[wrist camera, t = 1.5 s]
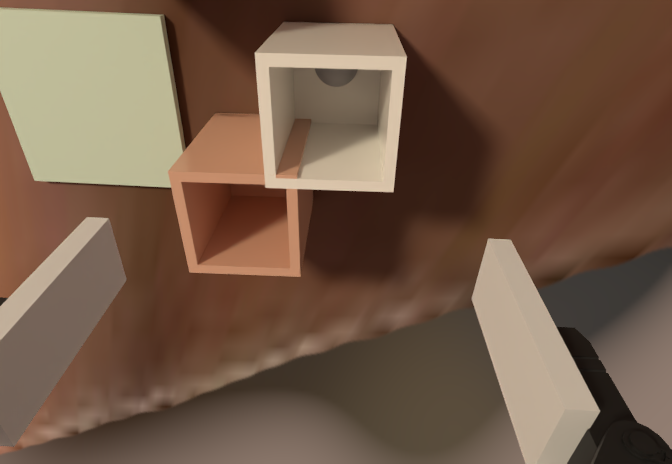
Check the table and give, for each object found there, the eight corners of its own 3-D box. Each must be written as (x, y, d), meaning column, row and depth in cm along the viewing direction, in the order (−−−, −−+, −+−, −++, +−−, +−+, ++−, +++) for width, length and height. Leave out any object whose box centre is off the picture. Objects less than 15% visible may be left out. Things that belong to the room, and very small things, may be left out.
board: (163, 14, 33) (159, 16, 32) (191, 184, 40) (188, 188, 40) (-24, 6, 33) (-32, 7, 32) (39, 176, 40) (34, 180, 40)
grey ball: (358, 66, 34) (360, 29, 31) (356, 97, 32) (359, 62, 29) (316, 64, 34) (315, 27, 31) (313, 95, 32) (311, 60, 29)
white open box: (392, 24, 32) (406, 56, 23) (384, 129, 37) (393, 192, 27) (283, 21, 32) (254, 52, 23) (288, 126, 37) (265, 187, 28)
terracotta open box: (312, 115, 36) (296, 175, 27) (313, 200, 41) (300, 276, 32) (215, 112, 36) (167, 171, 27) (227, 197, 41) (189, 272, 32)
